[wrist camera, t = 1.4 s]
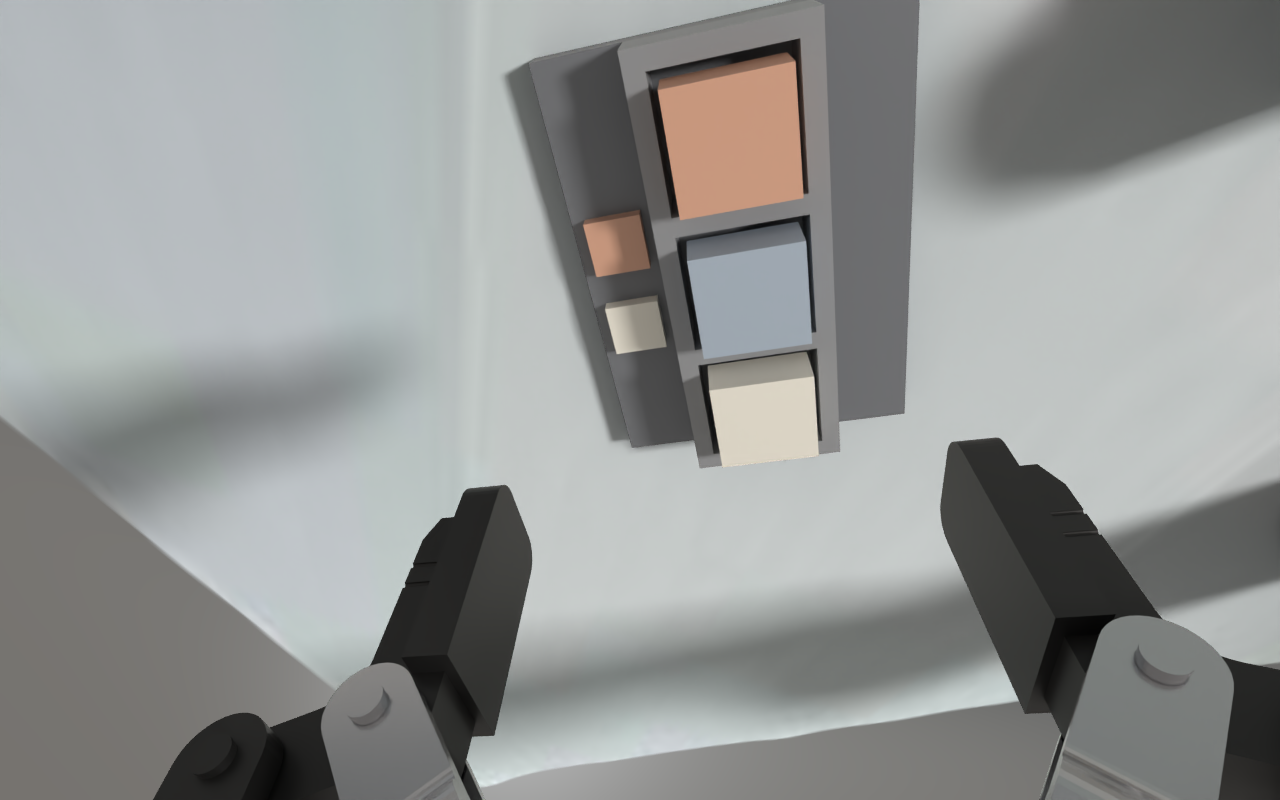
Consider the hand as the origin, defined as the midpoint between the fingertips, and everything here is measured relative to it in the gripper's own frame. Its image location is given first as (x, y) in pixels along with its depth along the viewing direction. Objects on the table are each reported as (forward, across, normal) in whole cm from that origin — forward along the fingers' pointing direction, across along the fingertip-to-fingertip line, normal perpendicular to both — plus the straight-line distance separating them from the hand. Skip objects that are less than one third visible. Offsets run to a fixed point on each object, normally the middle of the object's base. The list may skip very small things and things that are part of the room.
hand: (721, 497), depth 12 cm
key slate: (+16, -2, +3) cm, 17 cm away
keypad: (+19, -2, +4) cm, 19 cm away
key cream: (+16, -2, +9) cm, 19 cm away
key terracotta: (+16, -1, -2) cm, 16 cm away
